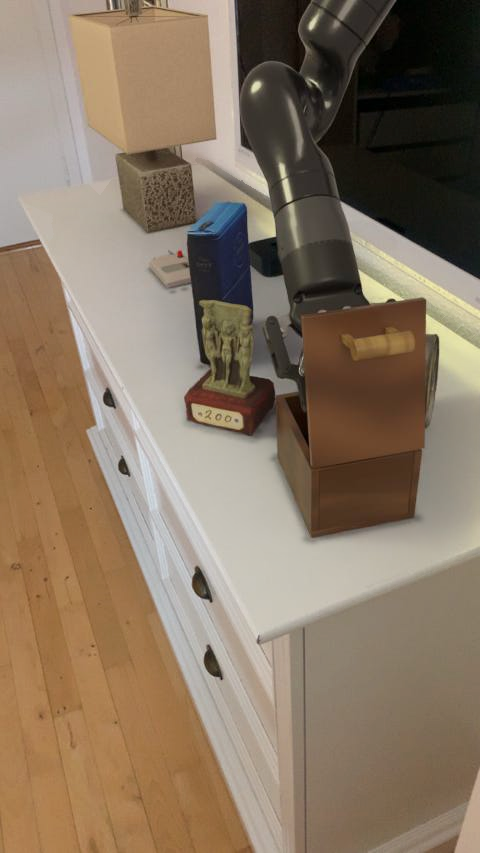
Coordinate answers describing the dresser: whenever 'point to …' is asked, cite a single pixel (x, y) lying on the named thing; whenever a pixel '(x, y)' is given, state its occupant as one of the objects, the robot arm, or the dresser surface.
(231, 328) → the sculpture
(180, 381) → the dresser surface
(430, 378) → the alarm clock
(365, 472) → the chest
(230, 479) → the dresser surface
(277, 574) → the dresser surface
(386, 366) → the lid
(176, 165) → the lamp
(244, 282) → the book
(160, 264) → the remote control
